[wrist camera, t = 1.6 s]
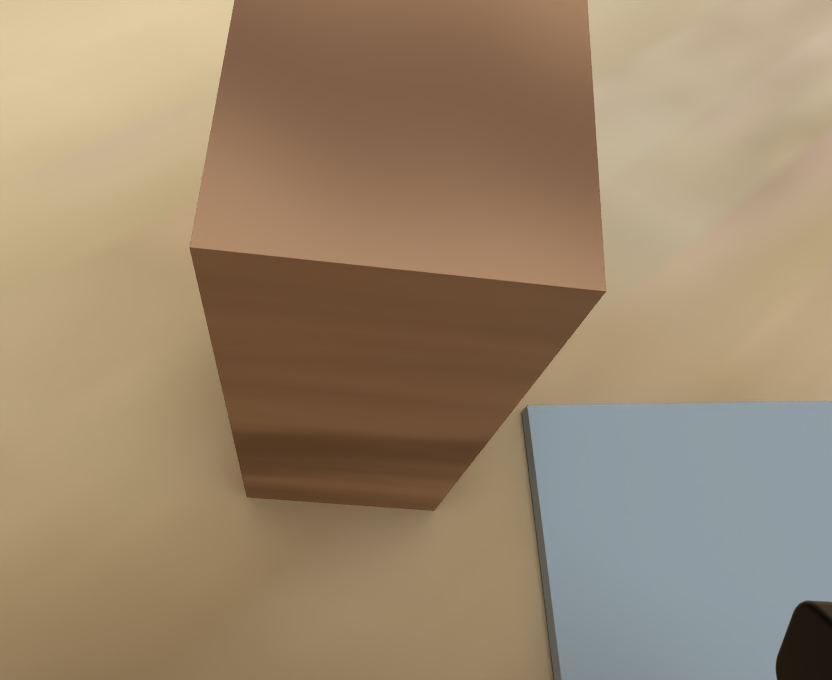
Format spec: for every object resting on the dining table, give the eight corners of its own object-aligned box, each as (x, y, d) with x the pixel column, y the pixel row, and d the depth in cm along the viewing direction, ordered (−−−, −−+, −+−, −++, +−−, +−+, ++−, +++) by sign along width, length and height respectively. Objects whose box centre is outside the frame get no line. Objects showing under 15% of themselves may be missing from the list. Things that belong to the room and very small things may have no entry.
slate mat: (1034, 856, 20) (1055, 861, 20) (582, 909, 18) (590, 915, 18) (892, 406, 25) (905, 400, 24) (521, 412, 23) (527, 405, 22)
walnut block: (434, 510, 21) (606, 291, 10) (246, 497, 21) (189, 247, 9) (439, 342, 24) (586, -8, 12) (269, 325, 23) (245, -59, 11)
